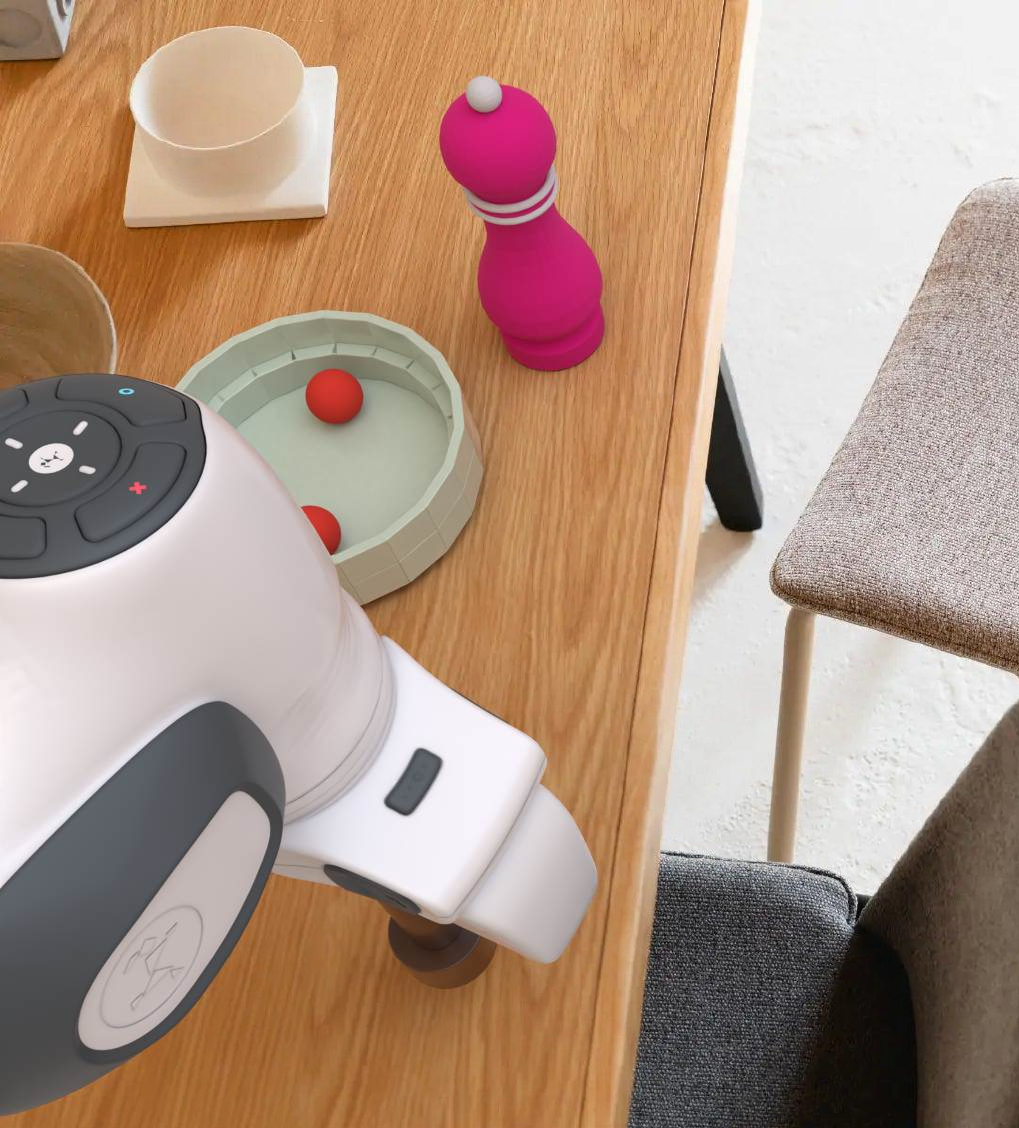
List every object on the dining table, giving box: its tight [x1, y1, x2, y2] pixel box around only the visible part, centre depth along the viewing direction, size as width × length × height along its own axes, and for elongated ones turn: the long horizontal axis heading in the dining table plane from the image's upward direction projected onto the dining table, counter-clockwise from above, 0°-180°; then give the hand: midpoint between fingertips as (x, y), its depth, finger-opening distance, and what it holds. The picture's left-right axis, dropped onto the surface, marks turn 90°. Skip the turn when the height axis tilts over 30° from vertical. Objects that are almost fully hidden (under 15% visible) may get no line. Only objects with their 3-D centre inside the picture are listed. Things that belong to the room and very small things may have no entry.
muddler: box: [376, 900, 498, 990], centre depth 65 cm, size 4×4×16 cm
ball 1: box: [305, 369, 363, 424], centre depth 88 cm, size 3×3×3 cm
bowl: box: [174, 309, 485, 607], centre depth 85 cm, size 17×17×6 cm
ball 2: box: [301, 505, 341, 556], centre depth 83 cm, size 3×3×3 cm
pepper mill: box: [438, 75, 606, 372], centre depth 84 cm, size 7×7×20 cm
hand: (387, 866), depth 62 cm, fingers closed on muddler, 2 cm apart
